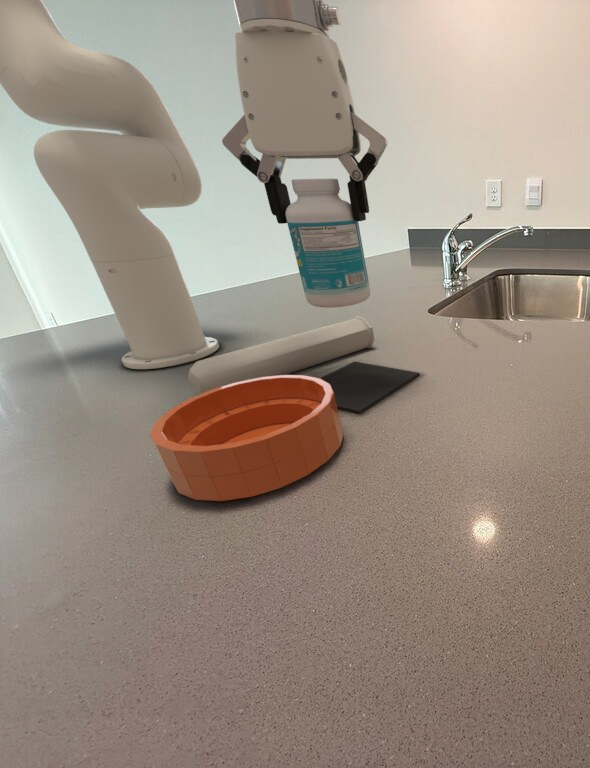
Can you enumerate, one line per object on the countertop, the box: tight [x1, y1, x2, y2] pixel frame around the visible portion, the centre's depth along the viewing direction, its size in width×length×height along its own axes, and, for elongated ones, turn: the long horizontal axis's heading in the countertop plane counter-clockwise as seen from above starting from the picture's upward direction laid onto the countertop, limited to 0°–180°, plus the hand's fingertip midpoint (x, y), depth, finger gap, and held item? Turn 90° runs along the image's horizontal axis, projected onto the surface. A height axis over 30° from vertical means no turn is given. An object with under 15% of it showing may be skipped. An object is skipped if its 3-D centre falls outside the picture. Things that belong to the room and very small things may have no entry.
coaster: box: [319, 361, 421, 415], centre depth 55 cm, size 12×12×1 cm
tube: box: [187, 315, 375, 395], centre depth 59 cm, size 5×5×25 cm
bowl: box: [149, 374, 344, 502], centre depth 39 cm, size 15×15×6 cm
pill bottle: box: [286, 178, 371, 309], centre depth 47 cm, size 8×7×14 cm
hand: (323, 220), depth 46 cm, fingers closed on pill bottle, 7 cm apart
